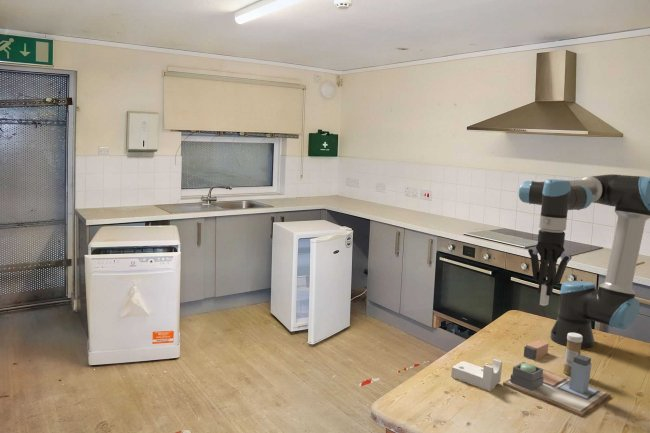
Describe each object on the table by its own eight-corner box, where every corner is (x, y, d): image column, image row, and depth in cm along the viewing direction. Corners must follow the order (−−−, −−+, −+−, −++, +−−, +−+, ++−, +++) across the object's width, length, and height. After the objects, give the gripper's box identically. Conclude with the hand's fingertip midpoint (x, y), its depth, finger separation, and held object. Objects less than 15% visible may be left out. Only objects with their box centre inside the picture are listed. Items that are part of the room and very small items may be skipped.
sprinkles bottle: (581, 375, 177) (585, 335, 175) (572, 377, 175) (577, 338, 173) (568, 369, 181) (572, 331, 179) (559, 372, 178) (564, 333, 176)
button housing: (521, 376, 172) (523, 361, 171) (542, 384, 166) (544, 369, 166) (510, 382, 167) (511, 366, 166) (531, 390, 162) (533, 375, 161)
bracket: (499, 384, 168) (502, 361, 167) (489, 391, 163) (492, 367, 162) (461, 371, 176) (463, 349, 175) (450, 377, 171) (452, 354, 170)
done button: (524, 371, 169) (525, 362, 169) (537, 376, 166) (538, 366, 166) (517, 374, 166) (518, 365, 166) (530, 380, 163) (531, 370, 163)
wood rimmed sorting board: (534, 368, 180) (534, 364, 180) (610, 396, 163) (610, 392, 163) (502, 384, 167) (503, 380, 167) (581, 416, 150) (582, 412, 149)
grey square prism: (574, 384, 166) (578, 353, 165) (588, 389, 164) (592, 358, 162) (569, 388, 164) (572, 357, 162) (582, 393, 161) (586, 361, 159)
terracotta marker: (536, 350, 197) (522, 356, 191) (538, 339, 197) (524, 345, 190) (547, 353, 194) (533, 360, 188) (548, 343, 194) (534, 349, 187)
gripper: (525, 227, 168) (518, 301, 171) (567, 234, 158) (558, 312, 162) (537, 226, 173) (530, 297, 176) (578, 232, 163) (570, 308, 167)
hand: (543, 304), depth 169 cm, fingers closed
